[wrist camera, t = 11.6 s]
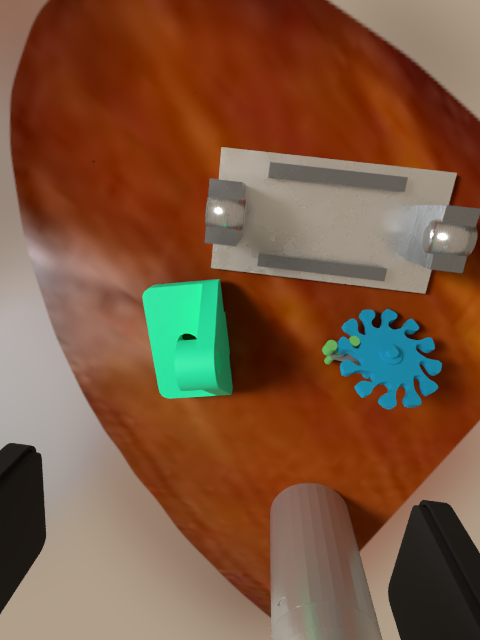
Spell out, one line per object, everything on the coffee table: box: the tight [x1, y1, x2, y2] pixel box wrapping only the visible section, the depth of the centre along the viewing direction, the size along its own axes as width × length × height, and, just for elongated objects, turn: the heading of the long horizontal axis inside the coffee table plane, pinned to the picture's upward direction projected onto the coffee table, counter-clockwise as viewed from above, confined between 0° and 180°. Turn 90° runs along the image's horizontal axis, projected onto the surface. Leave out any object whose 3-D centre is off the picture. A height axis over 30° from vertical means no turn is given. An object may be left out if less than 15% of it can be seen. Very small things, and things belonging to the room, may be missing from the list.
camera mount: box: [143, 279, 233, 398], centre depth 36 cm, size 12×8×10 cm, turn 6°
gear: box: [322, 309, 442, 410], centre depth 37 cm, size 11×6×10 cm
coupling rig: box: [205, 147, 480, 294], centre depth 33 cm, size 11×21×7 cm, turn 84°
